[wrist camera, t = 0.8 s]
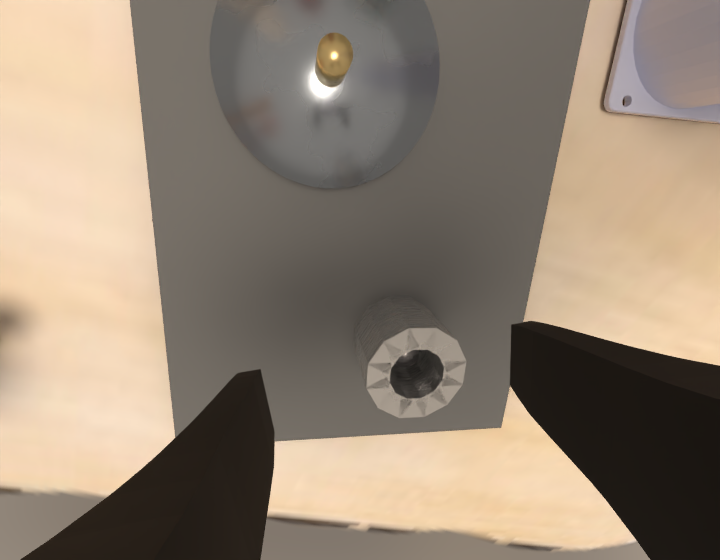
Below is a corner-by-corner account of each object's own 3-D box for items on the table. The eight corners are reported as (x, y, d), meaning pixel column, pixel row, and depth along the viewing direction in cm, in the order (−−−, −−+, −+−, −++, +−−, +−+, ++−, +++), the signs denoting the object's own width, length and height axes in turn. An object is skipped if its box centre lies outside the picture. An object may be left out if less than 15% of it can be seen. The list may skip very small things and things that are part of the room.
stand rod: (406, 324, 19) (420, 344, 17) (403, 344, 20) (417, 367, 17) (384, 324, 19) (395, 345, 17) (382, 344, 19) (393, 367, 17)
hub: (442, -33, 15) (481, -90, 11) (418, 192, 17) (444, 197, 14) (210, -72, 13) (180, -151, 10) (222, 181, 16) (201, 184, 12)
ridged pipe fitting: (438, 295, 19) (472, 327, 15) (428, 369, 20) (457, 415, 16) (356, 295, 18) (370, 328, 14) (351, 371, 20) (363, 420, 16)
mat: (585, -50, 16) (603, -64, 15) (493, 417, 23) (501, 427, 22) (126, -137, 13) (112, -162, 12) (182, 434, 20) (176, 447, 19)
